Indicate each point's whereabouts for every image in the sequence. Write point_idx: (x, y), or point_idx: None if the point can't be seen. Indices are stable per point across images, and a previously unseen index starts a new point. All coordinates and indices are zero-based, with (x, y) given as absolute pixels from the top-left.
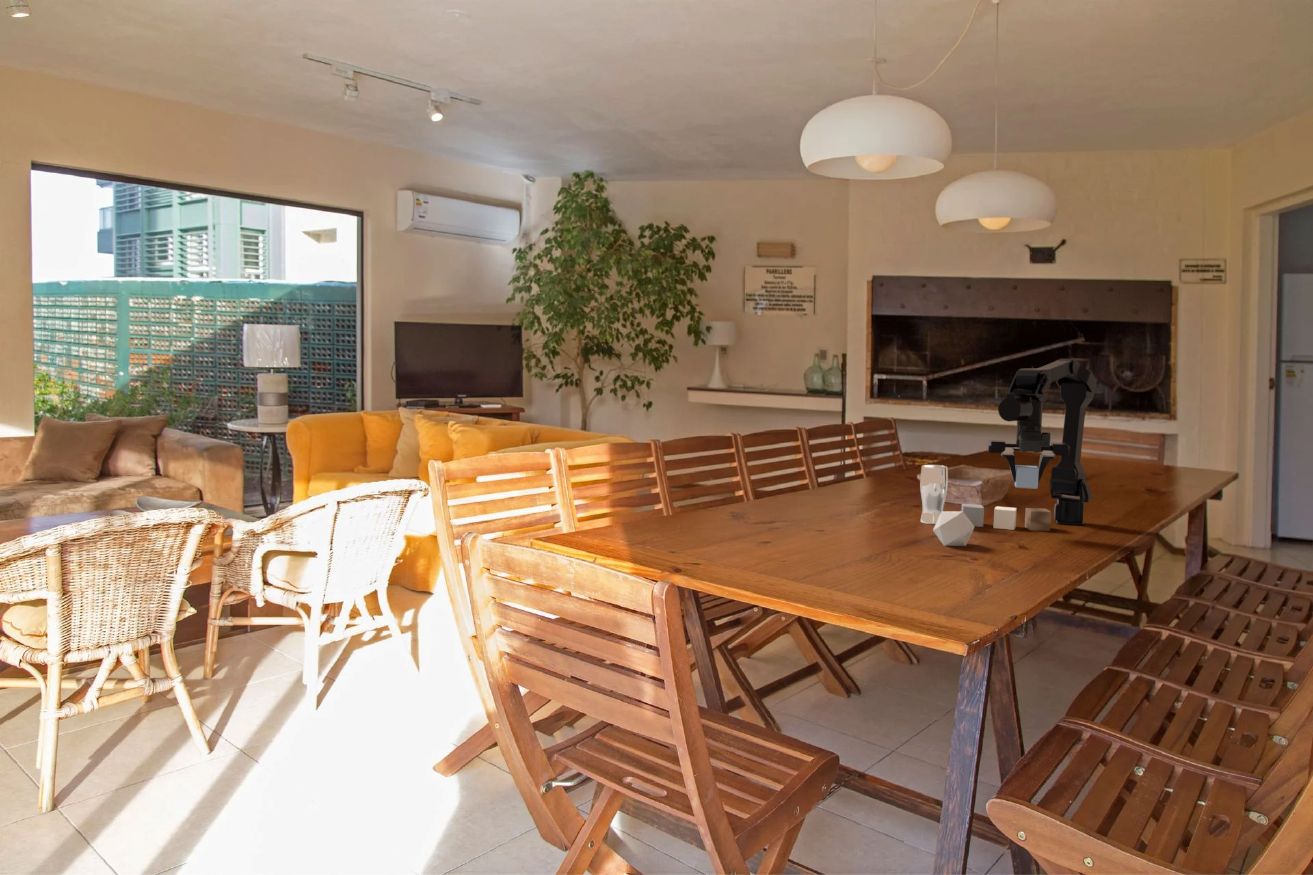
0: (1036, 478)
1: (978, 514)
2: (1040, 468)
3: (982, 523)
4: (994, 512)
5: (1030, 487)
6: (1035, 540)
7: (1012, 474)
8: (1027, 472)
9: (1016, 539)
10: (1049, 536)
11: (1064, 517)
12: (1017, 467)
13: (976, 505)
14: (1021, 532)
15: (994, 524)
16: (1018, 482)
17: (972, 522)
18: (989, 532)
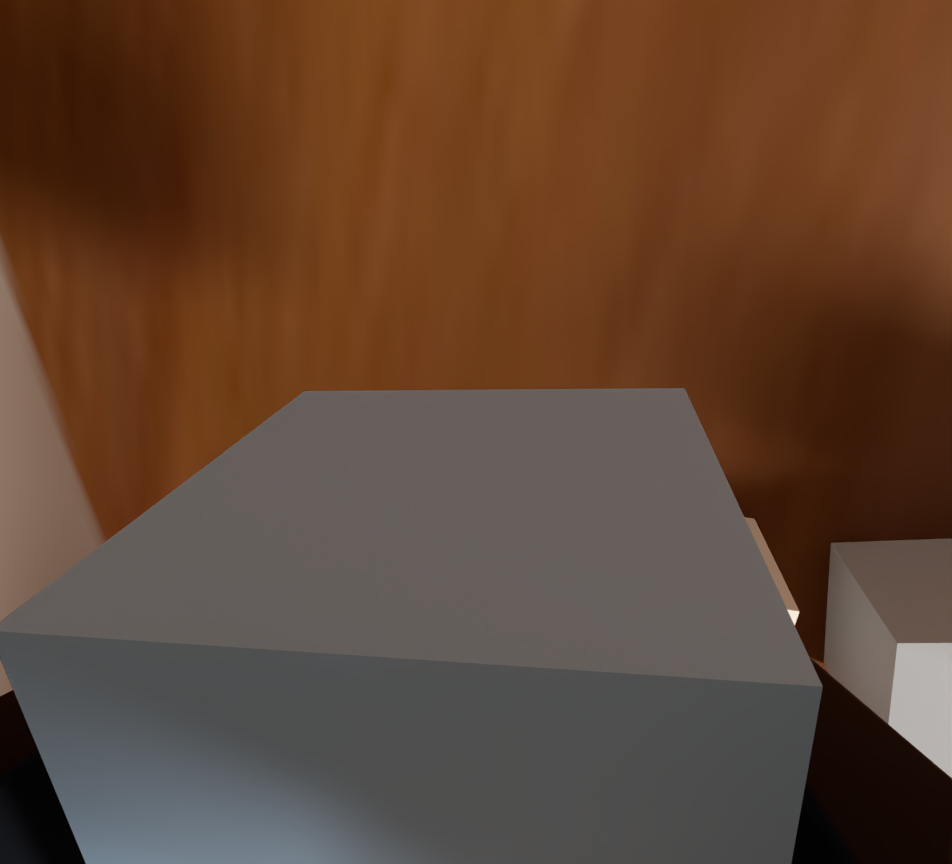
0: (240, 470)
1: (920, 599)
2: (4, 752)
3: (846, 555)
4: (786, 590)
5: (418, 397)
6: (462, 86)
7: (820, 674)
8: (411, 554)
9: (620, 56)
10: (362, 324)
11: None
12: (799, 678)
13: (942, 750)
14: None
15: (753, 532)
16: (650, 428)
17: (936, 555)
18: (822, 312)
